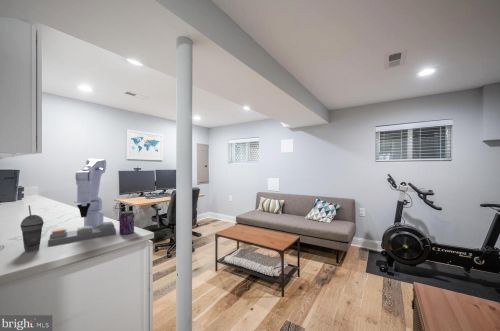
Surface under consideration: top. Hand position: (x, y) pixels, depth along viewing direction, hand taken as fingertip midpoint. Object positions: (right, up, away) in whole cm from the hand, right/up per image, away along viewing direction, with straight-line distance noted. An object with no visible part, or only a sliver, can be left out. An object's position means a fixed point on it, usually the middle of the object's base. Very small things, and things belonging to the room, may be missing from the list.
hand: (83, 217), depth 113 cm
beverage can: (+23, -10, +2) cm, 25 cm away
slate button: (+11, -6, +3) cm, 13 cm away
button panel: (+3, -9, -4) cm, 11 cm away
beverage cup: (-6, -10, -21) cm, 24 cm away
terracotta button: (-4, -6, -10) cm, 12 cm away
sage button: (+3, -7, -4) cm, 8 cm away
